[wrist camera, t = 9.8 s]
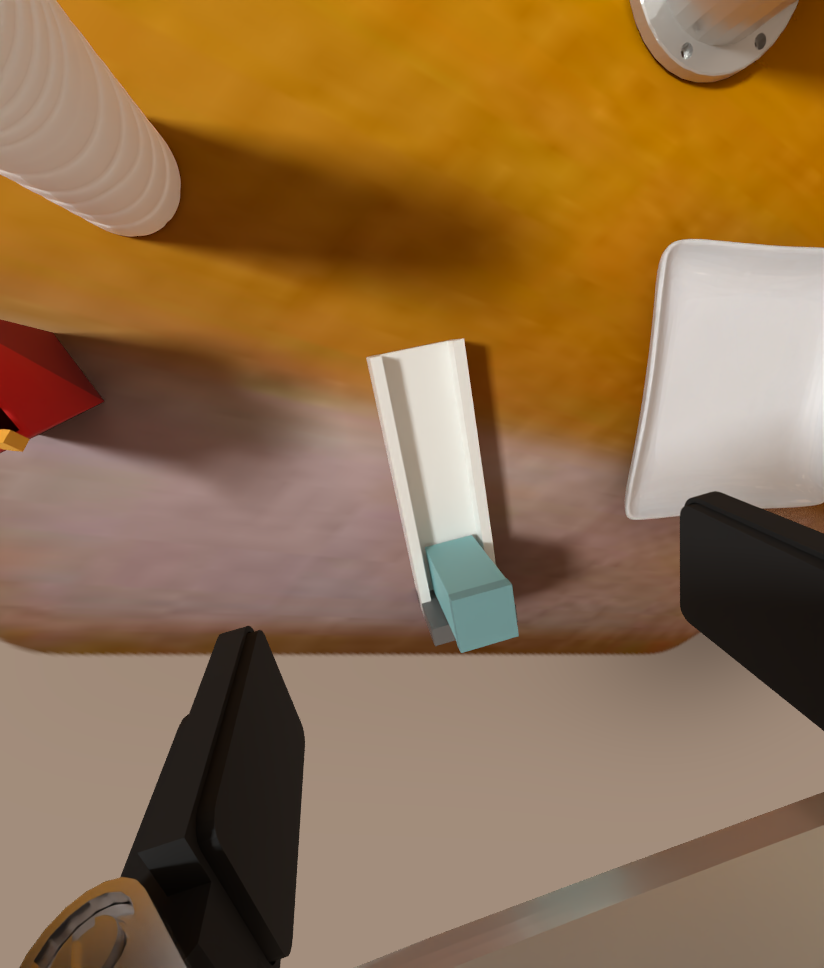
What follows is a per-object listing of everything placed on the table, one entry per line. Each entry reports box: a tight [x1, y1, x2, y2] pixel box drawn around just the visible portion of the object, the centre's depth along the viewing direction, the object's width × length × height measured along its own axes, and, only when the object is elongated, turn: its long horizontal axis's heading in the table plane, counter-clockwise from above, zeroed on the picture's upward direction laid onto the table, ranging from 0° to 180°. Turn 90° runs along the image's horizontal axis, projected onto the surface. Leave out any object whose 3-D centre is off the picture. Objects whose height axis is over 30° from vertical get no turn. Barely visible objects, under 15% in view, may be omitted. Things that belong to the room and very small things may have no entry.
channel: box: [366, 339, 518, 646], centre depth 33 cm, size 7×21×6 cm, turn 11°
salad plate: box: [625, 239, 824, 520], centre depth 37 cm, size 21×21×3 cm
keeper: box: [425, 535, 519, 653], centre depth 33 cm, size 4×4×8 cm
